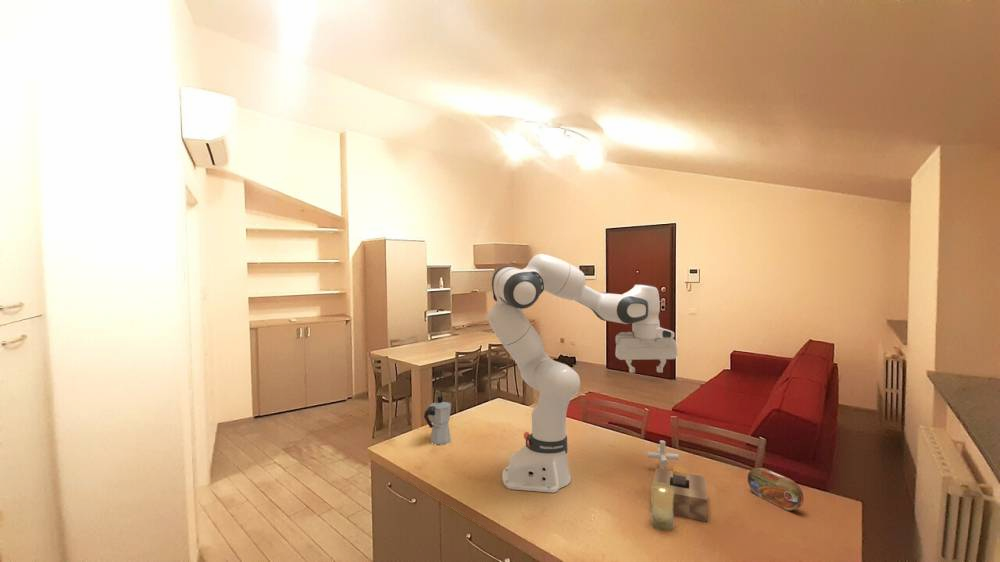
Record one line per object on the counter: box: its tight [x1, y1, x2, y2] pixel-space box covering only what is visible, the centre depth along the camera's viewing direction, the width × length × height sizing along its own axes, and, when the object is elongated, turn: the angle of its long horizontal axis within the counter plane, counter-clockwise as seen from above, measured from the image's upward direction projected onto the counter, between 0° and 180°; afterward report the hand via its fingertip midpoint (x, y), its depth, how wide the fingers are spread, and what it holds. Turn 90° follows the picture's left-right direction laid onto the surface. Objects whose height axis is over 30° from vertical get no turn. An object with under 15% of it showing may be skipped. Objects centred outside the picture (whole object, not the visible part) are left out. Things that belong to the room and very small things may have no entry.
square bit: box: [672, 465, 687, 488], centre depth 124 cm, size 4×4×10 cm
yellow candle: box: [650, 482, 675, 531], centre depth 114 cm, size 6×6×10 cm
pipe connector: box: [646, 440, 680, 470], centre depth 144 cm, size 10×10×10 cm
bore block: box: [652, 467, 708, 522], centre depth 124 cm, size 14×14×6 cm
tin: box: [747, 467, 804, 511], centre depth 124 cm, size 15×3×8 cm, turn 24°
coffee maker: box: [423, 395, 452, 446], centre depth 170 cm, size 15×9×18 cm, turn 144°
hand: (645, 372), depth 145 cm, fingers open, 8 cm apart
